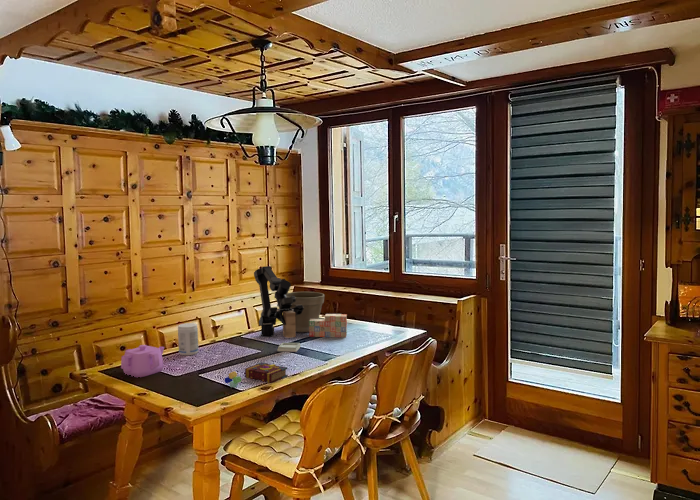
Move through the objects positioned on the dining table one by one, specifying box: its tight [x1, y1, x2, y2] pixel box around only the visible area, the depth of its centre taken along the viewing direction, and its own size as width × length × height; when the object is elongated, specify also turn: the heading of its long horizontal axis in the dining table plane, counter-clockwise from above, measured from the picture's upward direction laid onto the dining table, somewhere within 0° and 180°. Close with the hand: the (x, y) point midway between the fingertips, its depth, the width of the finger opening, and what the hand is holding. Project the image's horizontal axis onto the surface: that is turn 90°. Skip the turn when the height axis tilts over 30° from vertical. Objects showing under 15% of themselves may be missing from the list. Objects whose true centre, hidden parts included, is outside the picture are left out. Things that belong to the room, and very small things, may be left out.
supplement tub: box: [177, 322, 199, 356], centre depth 274 cm, size 10×10×15 cm
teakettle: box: [120, 344, 165, 378], centre depth 244 cm, size 17×17×12 cm
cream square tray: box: [277, 342, 301, 353], centre depth 283 cm, size 10×10×2 cm
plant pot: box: [286, 291, 325, 333], centre depth 326 cm, size 25×25×22 cm
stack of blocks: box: [308, 313, 348, 338], centre depth 311 cm, size 21×6×12 cm, turn 86°
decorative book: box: [244, 361, 288, 384], centre depth 237 cm, size 11×16×5 cm
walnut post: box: [282, 311, 297, 339], centre depth 282 cm, size 5×5×13 cm
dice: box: [224, 371, 242, 388], centre depth 225 cm, size 8×3×6 cm, turn 56°
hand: (290, 324), depth 281 cm, fingers closed on walnut post, 5 cm apart
